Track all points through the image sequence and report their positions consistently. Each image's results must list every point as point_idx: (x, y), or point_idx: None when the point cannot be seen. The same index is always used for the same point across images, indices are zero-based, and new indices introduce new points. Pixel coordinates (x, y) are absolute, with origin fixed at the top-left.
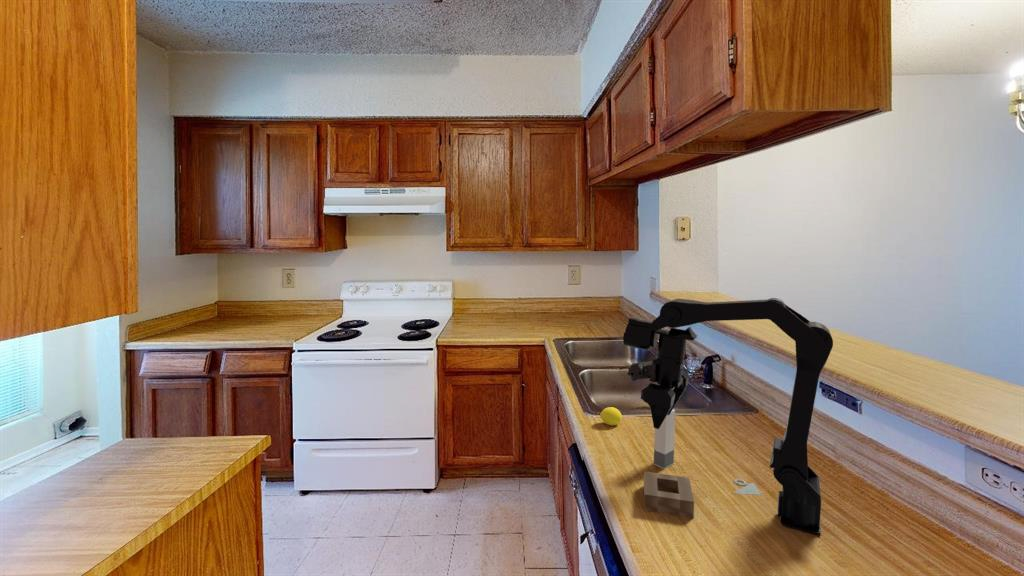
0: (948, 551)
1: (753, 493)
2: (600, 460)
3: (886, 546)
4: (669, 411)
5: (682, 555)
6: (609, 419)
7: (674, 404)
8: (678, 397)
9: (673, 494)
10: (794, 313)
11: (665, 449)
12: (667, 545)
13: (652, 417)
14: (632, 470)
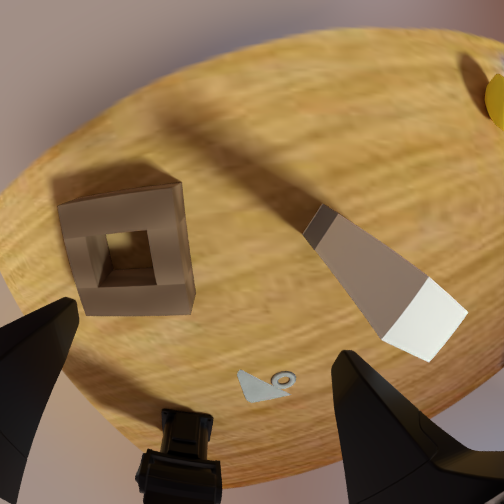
0: None
1: (247, 393)
2: (294, 48)
3: None
4: (337, 388)
5: (14, 272)
6: (492, 95)
7: (343, 446)
8: (352, 498)
9: (88, 274)
10: None
11: (321, 256)
12: (19, 250)
13: (6, 326)
14: (264, 141)
